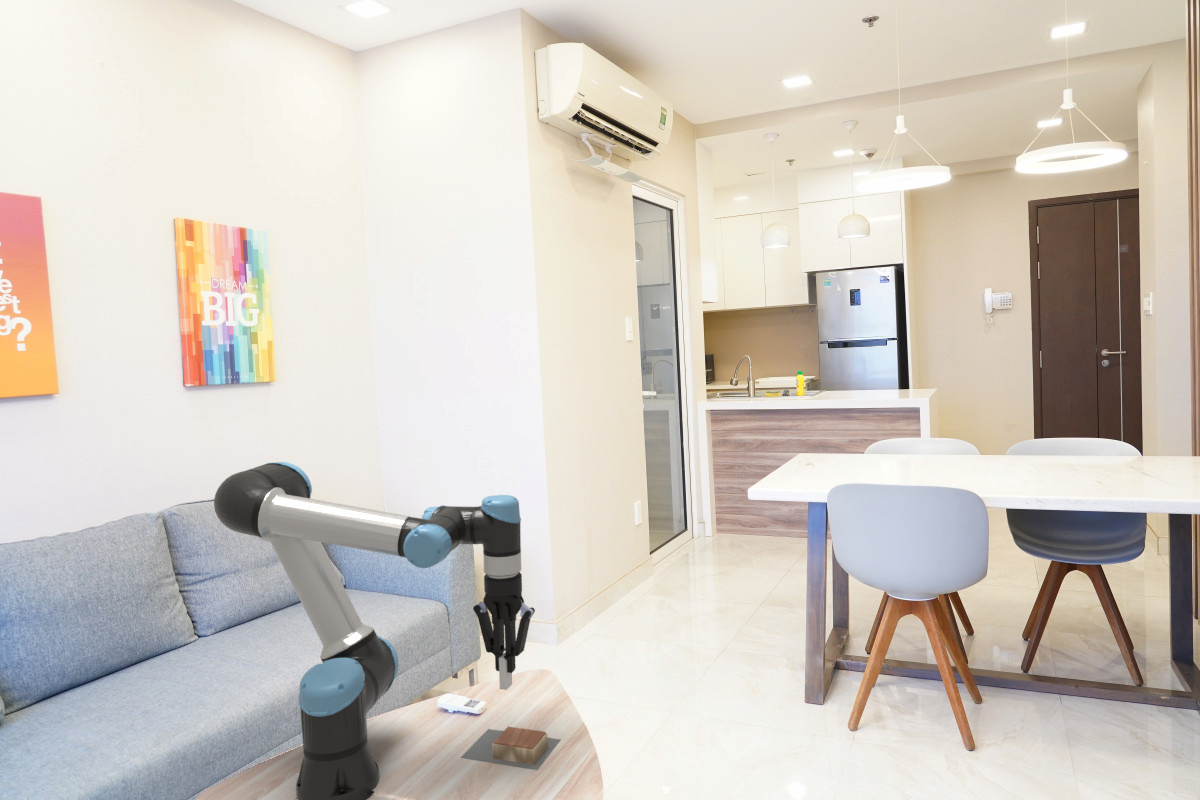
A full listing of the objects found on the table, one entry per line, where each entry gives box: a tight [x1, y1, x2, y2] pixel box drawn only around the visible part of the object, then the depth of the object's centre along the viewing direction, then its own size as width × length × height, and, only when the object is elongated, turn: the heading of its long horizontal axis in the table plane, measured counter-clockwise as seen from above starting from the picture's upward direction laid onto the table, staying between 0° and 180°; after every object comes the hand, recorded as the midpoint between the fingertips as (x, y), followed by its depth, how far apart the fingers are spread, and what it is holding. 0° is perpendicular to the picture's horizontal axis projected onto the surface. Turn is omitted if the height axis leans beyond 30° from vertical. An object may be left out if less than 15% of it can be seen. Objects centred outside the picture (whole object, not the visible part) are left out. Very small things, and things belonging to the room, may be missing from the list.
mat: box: [460, 728, 561, 771], centre depth 159 cm, size 17×12×1 cm
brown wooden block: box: [492, 726, 548, 765], centre depth 157 cm, size 3×7×9 cm
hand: (506, 686), depth 157 cm, fingers closed
